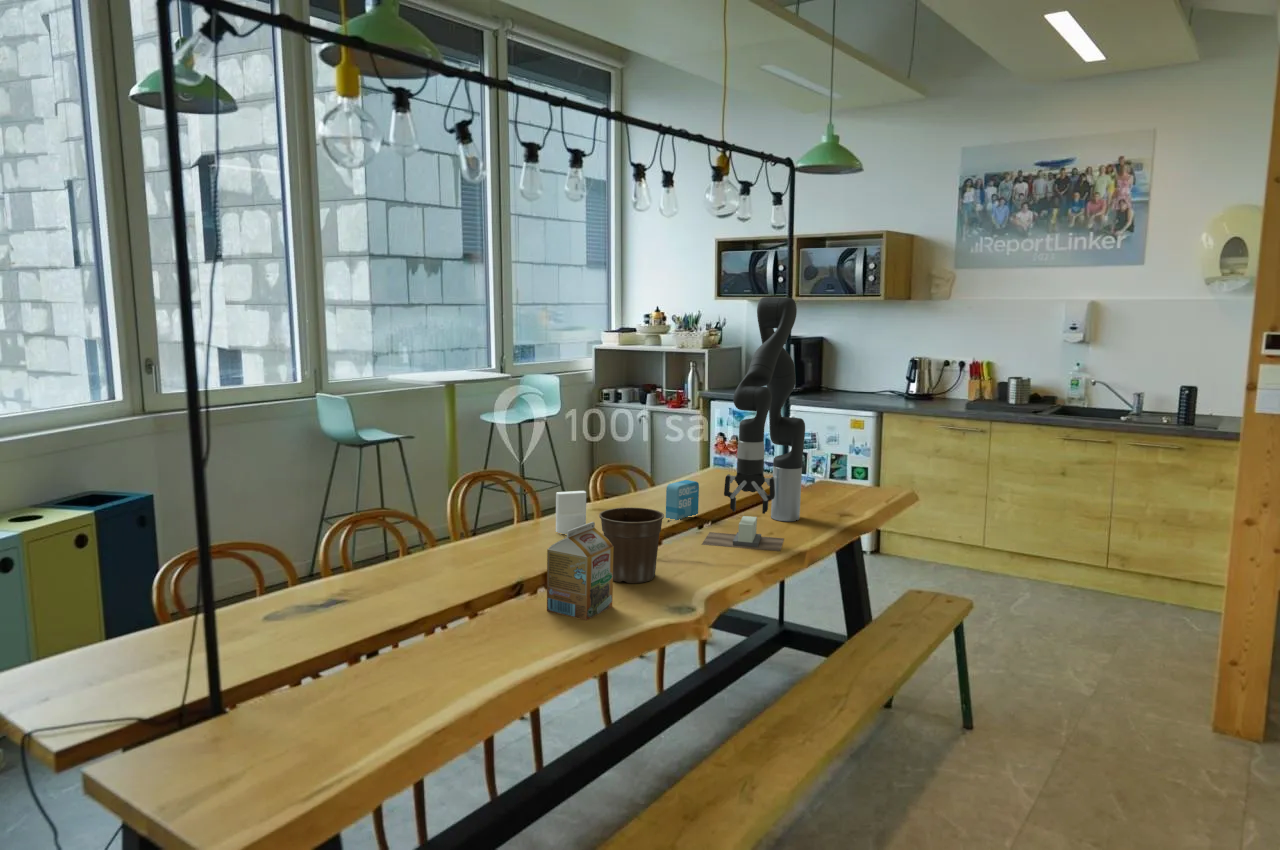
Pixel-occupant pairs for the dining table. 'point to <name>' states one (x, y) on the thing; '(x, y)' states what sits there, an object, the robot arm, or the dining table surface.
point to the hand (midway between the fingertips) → (748, 512)
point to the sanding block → (747, 533)
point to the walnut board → (727, 541)
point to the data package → (682, 499)
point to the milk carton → (580, 573)
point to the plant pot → (633, 542)
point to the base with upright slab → (570, 510)
